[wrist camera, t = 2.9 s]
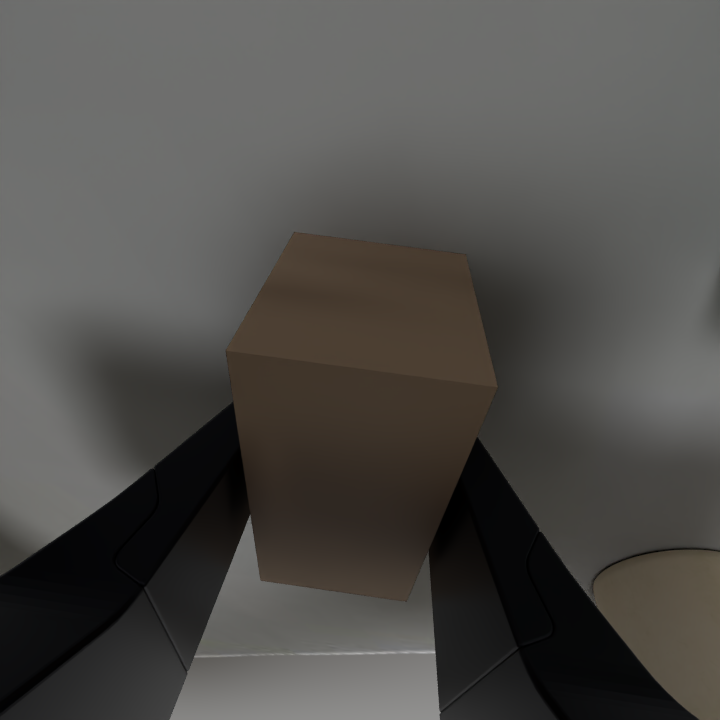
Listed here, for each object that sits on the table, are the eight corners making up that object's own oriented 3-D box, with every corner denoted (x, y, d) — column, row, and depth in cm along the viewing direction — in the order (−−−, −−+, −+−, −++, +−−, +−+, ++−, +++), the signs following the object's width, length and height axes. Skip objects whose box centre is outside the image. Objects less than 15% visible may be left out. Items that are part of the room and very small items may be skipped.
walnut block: (407, 462, 13) (406, 601, 10) (296, 447, 13) (260, 580, 10) (465, 253, 8) (498, 386, 5) (294, 231, 8) (225, 350, 5)
